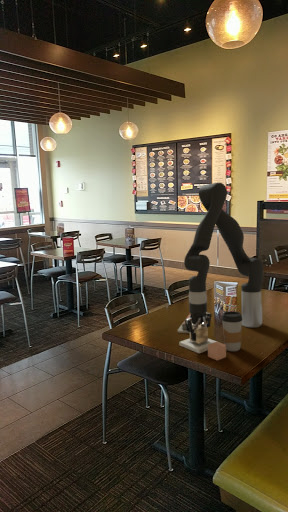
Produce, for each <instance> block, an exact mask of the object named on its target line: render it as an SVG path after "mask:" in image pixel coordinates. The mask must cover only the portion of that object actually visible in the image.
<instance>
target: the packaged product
mask: <svg viewBox="0 0 288 512" xmlns="http://www.w3.org/2000/svg"><path fill="white" fill-rule="evenodd" d="M190 315H191V313H189V314H188V315H187V316H186V318H185V319H189V318H190ZM194 325H195V324H194ZM199 325H200V324H199ZM200 326H201V325H200ZM177 333H179V334H180V333H182V334H190V332H187V329H186V324H185V320H184V321H183V322H182V324H180V326H179V328H177Z"/></svg>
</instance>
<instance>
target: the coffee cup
mask: <svg viewBox="0 0 288 512" xmlns="http://www.w3.org/2000/svg"><path fill="white" fill-rule="evenodd" d="M221 321H222V334H223V335H222V336H223V342H224V343H223V344H224V345H226V351H229V352H238V351H240V349H241V343H242V331H243V329H242V328H243V325H242V312H238V311H234V310H233V311H224V312H223V313H222V316H221Z"/></svg>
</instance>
